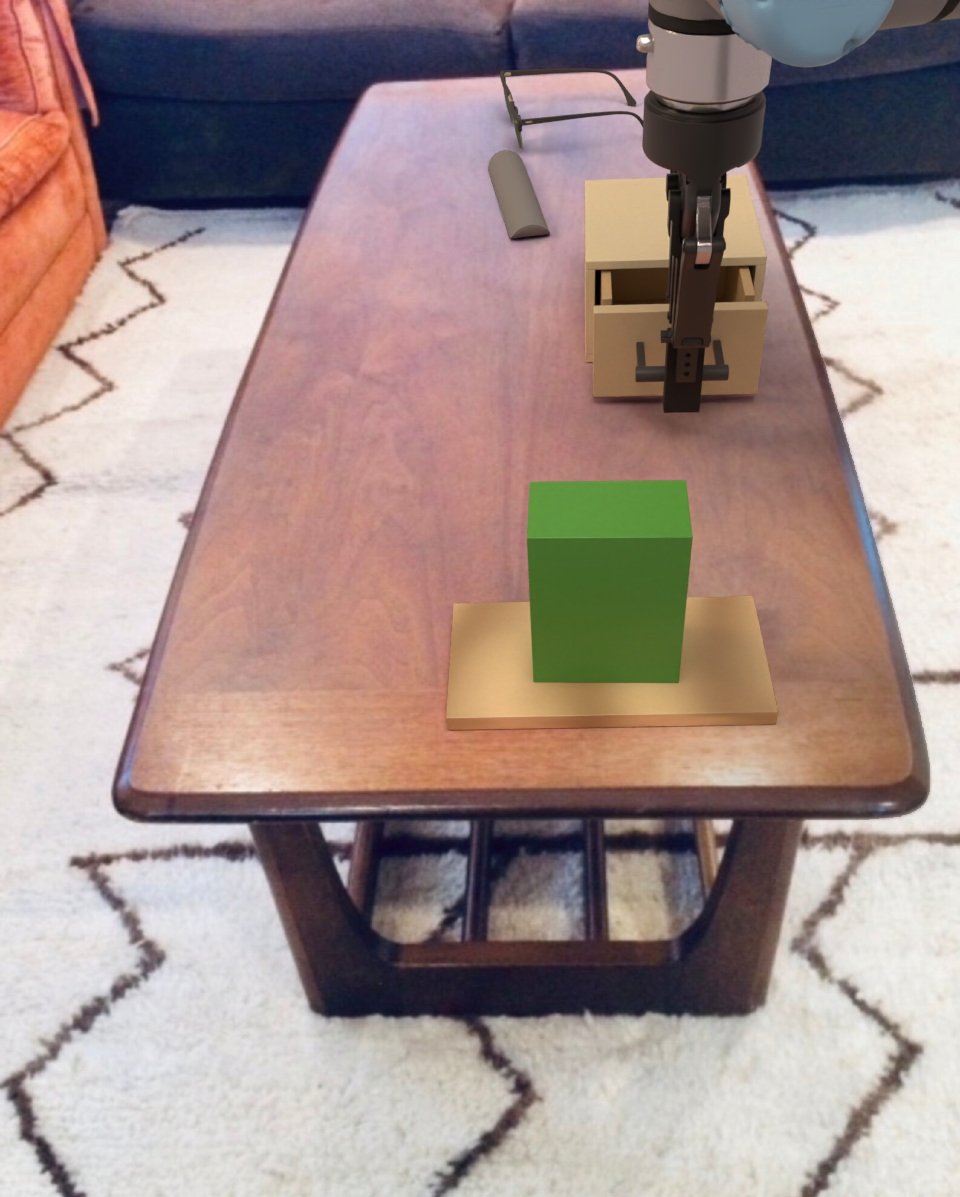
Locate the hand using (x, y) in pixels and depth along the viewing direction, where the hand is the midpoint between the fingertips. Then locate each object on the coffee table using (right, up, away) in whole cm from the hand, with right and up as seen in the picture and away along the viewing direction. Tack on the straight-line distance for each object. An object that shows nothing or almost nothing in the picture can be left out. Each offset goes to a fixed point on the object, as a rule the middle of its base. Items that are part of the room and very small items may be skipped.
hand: (680, 406), depth 85 cm
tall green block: (-8, -18, -15) cm, 25 cm away
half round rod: (-11, +29, +36) cm, 47 cm away
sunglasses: (-4, +42, +49) cm, 65 cm away
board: (-7, -19, -14) cm, 25 cm away
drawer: (+1, +5, +9) cm, 11 cm away
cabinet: (+2, +11, +17) cm, 20 cm away
